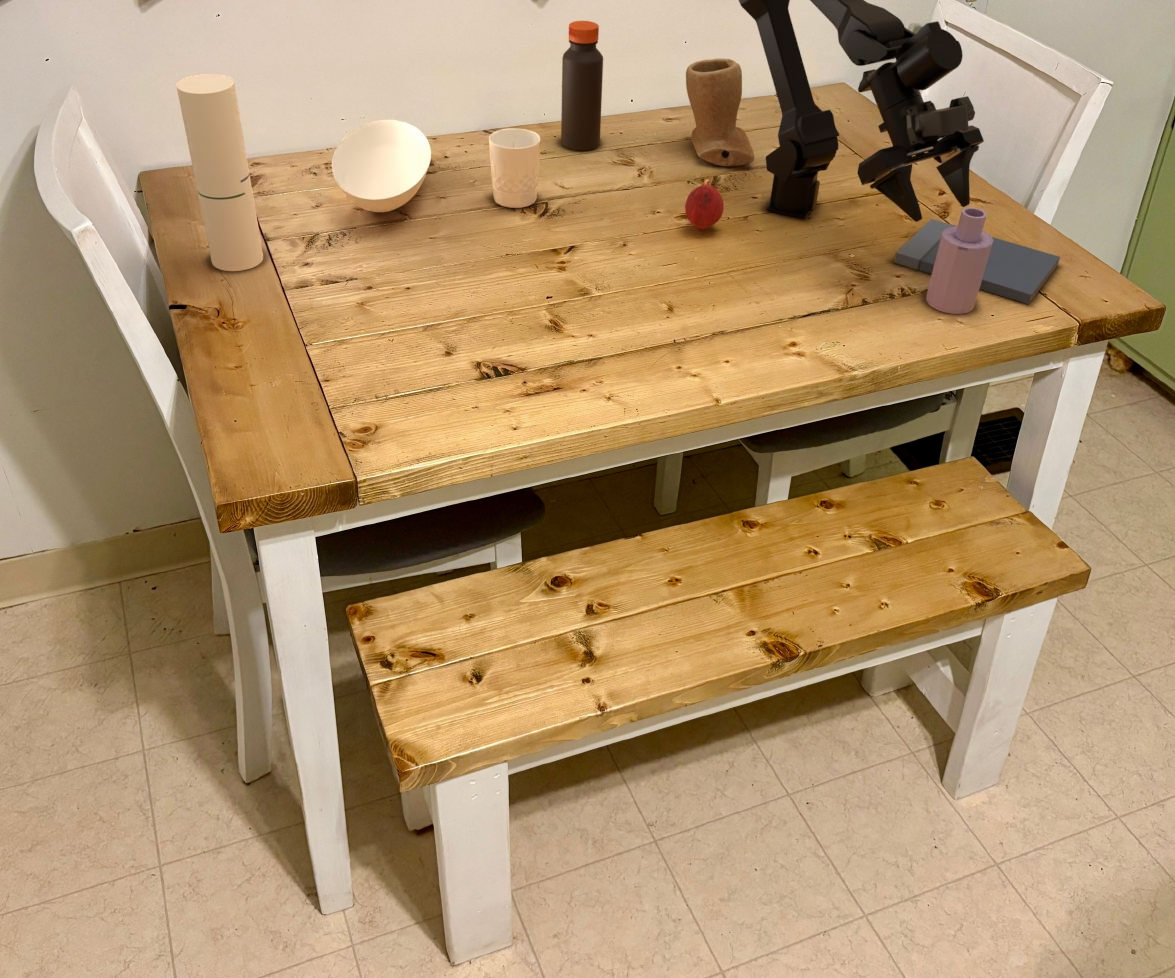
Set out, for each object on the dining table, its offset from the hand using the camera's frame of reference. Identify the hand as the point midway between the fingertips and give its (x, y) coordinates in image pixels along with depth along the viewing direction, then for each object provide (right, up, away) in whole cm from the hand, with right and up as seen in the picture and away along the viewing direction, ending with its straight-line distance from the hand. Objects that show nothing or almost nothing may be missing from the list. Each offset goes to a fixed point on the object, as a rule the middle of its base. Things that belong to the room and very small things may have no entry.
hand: (943, 212), depth 153 cm
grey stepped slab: (+9, -4, +13) cm, 16 cm away
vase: (+2, -11, +4) cm, 12 cm away
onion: (-31, +2, +19) cm, 36 cm away
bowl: (-81, +9, +25) cm, 85 cm away
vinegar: (-50, +22, +43) cm, 69 cm away
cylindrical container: (-98, -5, +7) cm, 99 cm away
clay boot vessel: (-26, +21, +42) cm, 54 cm away
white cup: (-60, +8, +25) cm, 65 cm away
